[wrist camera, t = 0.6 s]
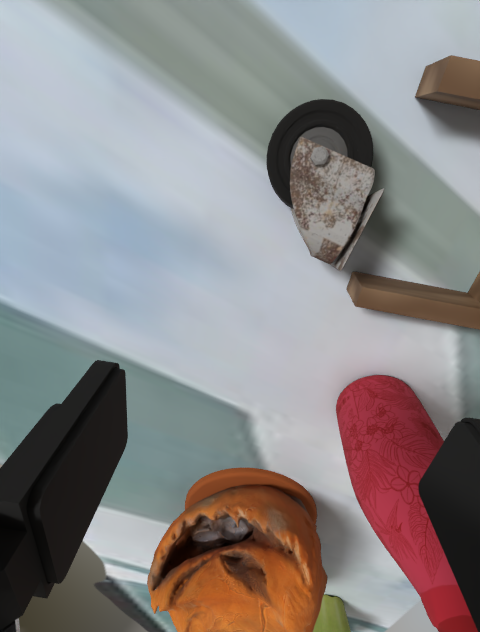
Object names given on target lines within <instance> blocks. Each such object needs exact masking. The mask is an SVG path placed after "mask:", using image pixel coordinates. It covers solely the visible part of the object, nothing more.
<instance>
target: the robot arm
mask: <svg viewBox="0 0 480 632" xmlns="http://www.w3.org/2000/svg"><path fill="white" fill-rule="evenodd" d="M127 438H128V433H127V406H126V379H125V370H123V369H120V368H119V364H118V363H113V362H106V361H100V360H97V361H95V362H94V363H93V364H92V366H91V367H90V368H89V369H88V371H87V372H86V373H85V375H84V376H83V377H82V378H81V380H80V381H79V382H78V383H77V385H76V386H75V387H74V389H73V390H72V391H71V392H70V394H69V395H68V396H67V398H66V399H65V400H64V401H63V403H62V404H55V405H53V406H51V407H50V408H49V409H48V410H47V412H46V413H45V414H44V415H43V417H42V418H41V419H40V420H39V421H38V423H37V424H36V425H35V426H34V428H33V429H32V430H31V431H30V432H29V434H28V435H27V436H26V437H25V439H24V440H23V441H22V442H21V443H20V445H19V446H18V447H17V448H16V450H15V451H14V452H13V453H12V455H11V456H10V457H9V458H8V459H7V461H6V462H5V463H4V464H3V466H2V467H1V468H0V632H20V627H19V617H20V616H22V615H23V613H24V612H25V610H26V607H27V606H28V604H29V602H30V600H31V598H32V596H36V597H42V598H48V596H49V594H50V592H51V589H52V587H53V585H54V583H58V584H59V583H61V582H62V581H63V580H64V578H65V576H66V574H67V573H68V570H69V568H70V566H71V564H72V562H73V560H74V558H75V555H76V553H77V551H78V549H79V547H80V544H81V542H82V540H83V538H84V536H85V534H86V532H87V529H88V527H89V525H90V523H91V521H92V519H93V516H94V514H95V512H96V510H97V508H98V506H99V504H100V501H101V499H102V497H103V495H104V493H105V491H106V488H107V486H108V484H109V482H110V480H111V478H112V475H113V473H114V471H115V469H116V467H117V465H118V463H119V460H120V458H121V456H122V454H123V452H124V449H125V447H126V443H127ZM418 490H419V495H420V497H421V500H422V502H423V504H424V507H425V509H426V511H427V514H428V516H429V518H430V521H431V523H432V525H433V528H434V530H435V532H436V535H437V537H438V539H439V542H440V544H441V546H442V549H443V551H444V553H445V556H446V558H447V560H448V563H449V565H450V567H451V570H452V572H453V574H454V577H455V579H456V581H457V584H458V586H459V588H460V591H461V593H462V595H463V598H464V600H465V602H466V605H467V607H468V609H469V612H470V614H471V616H472V619H473V621H474V623H475V626H476V628H477V630H478V632H480V419H473V418H464V419H462V420H461V421H460V422H457V423H456V424H455V425H454V427H453V428H452V430H451V431H450V433H449V435H448V436H447V438H446V439H445V441H444V443H443V444H442V446H441V448H440V449H439V451H438V452H437V454H436V456H435V457H434V459H433V460H432V462H431V464H430V465H429V467H428V469H427V470H426V472H425V473H424V475H423V477H422V478H421V480H420V482H419V486H418Z"/></svg>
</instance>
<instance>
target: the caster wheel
mask: <svg viewBox="0 0 480 632" xmlns="http://www.w3.org/2000/svg"><path fill="white" fill-rule="evenodd" d="M372 158H373V143H372V138H371V134H370V131H369V128H368V126H367V124H366V123H365V121H364V120H363V118H362V117H361V116H360V115H359V114H358V113H357V112H356V111H355V110H354V109H353V108H351V107H349V106H348V105H346V104H344V103H342V102H338V101H335V100H327V99H320V100H313V101H310V102H307V103H304V104H302V105H300V106H298V107H296V108H295V109H293V110H292V111H291V112H289V113H288V114H287V115H286V116H285V117H284V118H283V119H282V120H281V121H280V123H279V124H278V125H277V127H276V129H275V131H274V132H273V134H272V137H271V140H270V143H269V146H268V152H267V170H268V175H269V179H270V182H271V185H272V187H273V189H274V191H275V193H276V194H277V195H278V197H279V198H280V199H281V200H282V201H283V202H284V203H285V204H286V205H287V206H289V207H291V211H292V215H293V218H294V221H295V223H296V226H297V228H298V230H299V232H300V234H301V236H302V238H303V240H304V242H305V243H306V245H307V247H308V249H309V251H310V255H311V256H313V257H315V258H317V259H319V260H322V261H324V262H326V263H328V264H330V265H332V266H333V267H335V268H336V269H338V270H339V271H341V270H342V269H343V267H344V265H345V263H346V261H347V260H348V258H349V256H350V254H351V252H352V250H353V248H354V246H355V244H356V243H357V241H358V239H359V238H360V236H361V234H362V232H363V230H364V228H365V226H366V224H367V222H368V220H369V218H370V216H371V214H372V212H373V211H374V209H375V207H376V205H377V203H378V201H379V199H380V197H381V195H382V194H383V191H384V188H383V189H381V190H379V191H377V192H375V193H373V194H371V195H369V196H368V194H369V192H370V190H371V188H372V185H373V182H374V176H375V170H374V169H373V168H371V165H372Z"/></svg>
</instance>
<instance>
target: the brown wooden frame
mask: <svg viewBox="0 0 480 632" xmlns="http://www.w3.org/2000/svg"><path fill="white" fill-rule="evenodd" d="M415 97H416V98H421V99H426V100H432V101H437V102H442V103H447V104H452V105H457V106H462V107H467V108H473V109H478V110H480V61H477V60H472V59H467V58H462V57H457V56H452V55H451V56H448V57H446V58H444V59H442V60H439V61H437V62H435V63H433V64H430V65H428V66H426V68H425V70H424V73H423V76H422V79H421V82H420V84H419V87H418V90H417V93H416V96H415ZM347 291H348V293H349V295H350V297H351V299H352V301H353V303H354V305H355V306H356V307H362V308H367V309H373V310H378V311H383V312H389V313H394V314H399V315H405V316H410V317H415V318H421V319H426V320H432V321H437V322H442V323H448V324H453V325H458V326H464V327H469V328H474V329H480V272H479V274H478V275H477V277H476V279H475V281H474V283H473V284H472V286H471V288H470V290H469V292H468V293H466V292H460V291H455V290H450V289H444V288H439V287H434V286H428V285H423V284H418V283H412V282H407V281H402V280H396V279H391V278H386V277H380V276H375V275H370V274H364V273H359V272H354V271H353V272H352V275H351V278H350V280H349V283H348V286H347Z"/></svg>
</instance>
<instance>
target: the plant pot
mask: <svg viewBox="0 0 480 632" xmlns="http://www.w3.org/2000/svg"><path fill="white" fill-rule="evenodd" d="M313 632H351V631H350V627H349V623H348V620H347V616H346V612H345V608H344V604H343V601H342V600H341V599H340V598H338V597H336V596H334V597H330V596H328V595H323V598H322V604H321V609H320V612H319V615H318V618H317V620H316V623H315V626H314V630H313Z"/></svg>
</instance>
